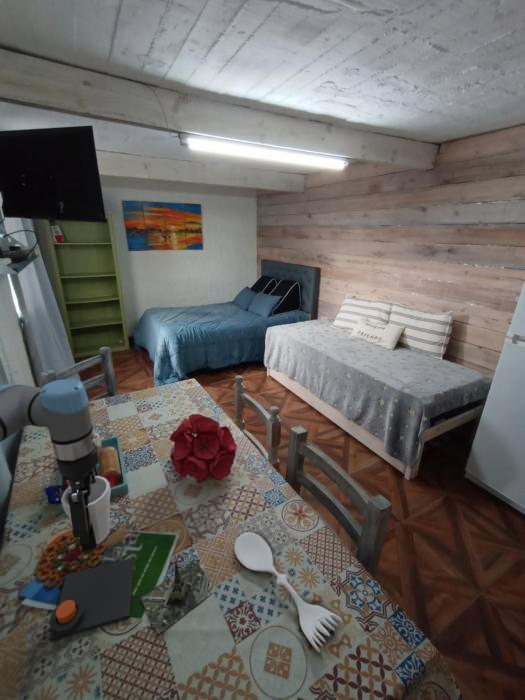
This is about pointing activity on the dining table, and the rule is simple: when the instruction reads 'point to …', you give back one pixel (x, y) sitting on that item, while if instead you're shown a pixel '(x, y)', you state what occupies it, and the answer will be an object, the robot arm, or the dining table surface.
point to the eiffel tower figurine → (177, 595)
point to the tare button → (66, 611)
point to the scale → (95, 598)
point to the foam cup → (95, 507)
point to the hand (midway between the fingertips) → (94, 528)
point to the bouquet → (202, 449)
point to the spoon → (259, 558)
